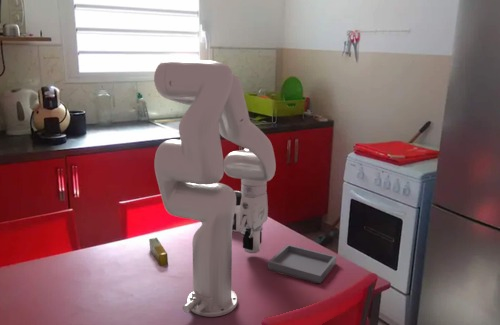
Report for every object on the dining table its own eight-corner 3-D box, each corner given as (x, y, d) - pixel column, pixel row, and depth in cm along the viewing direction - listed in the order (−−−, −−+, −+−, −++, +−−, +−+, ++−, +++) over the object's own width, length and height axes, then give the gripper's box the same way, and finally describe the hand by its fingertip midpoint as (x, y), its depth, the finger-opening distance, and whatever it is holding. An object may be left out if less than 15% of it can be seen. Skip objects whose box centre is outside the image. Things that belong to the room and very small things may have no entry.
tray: (319, 284, 123) (320, 276, 122) (267, 269, 130) (268, 261, 130) (336, 264, 134) (336, 256, 134) (287, 251, 142) (287, 244, 141)
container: (245, 232, 156) (246, 196, 153) (223, 231, 156) (223, 196, 153) (246, 223, 163) (246, 189, 160) (225, 223, 164) (225, 189, 160)
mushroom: (255, 255, 134) (256, 230, 132) (240, 251, 137) (241, 226, 135) (263, 249, 139) (263, 224, 137) (248, 245, 141) (249, 221, 139)
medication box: (149, 250, 142) (148, 238, 140) (157, 248, 143) (157, 237, 142) (159, 267, 131) (158, 254, 130) (168, 265, 132) (168, 252, 131)
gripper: (250, 198, 124) (249, 259, 128) (277, 183, 138) (275, 239, 143) (227, 193, 128) (227, 253, 132) (256, 180, 142) (254, 234, 146)
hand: (252, 245), depth 137 cm, fingers closed on mushroom, 4 cm apart
